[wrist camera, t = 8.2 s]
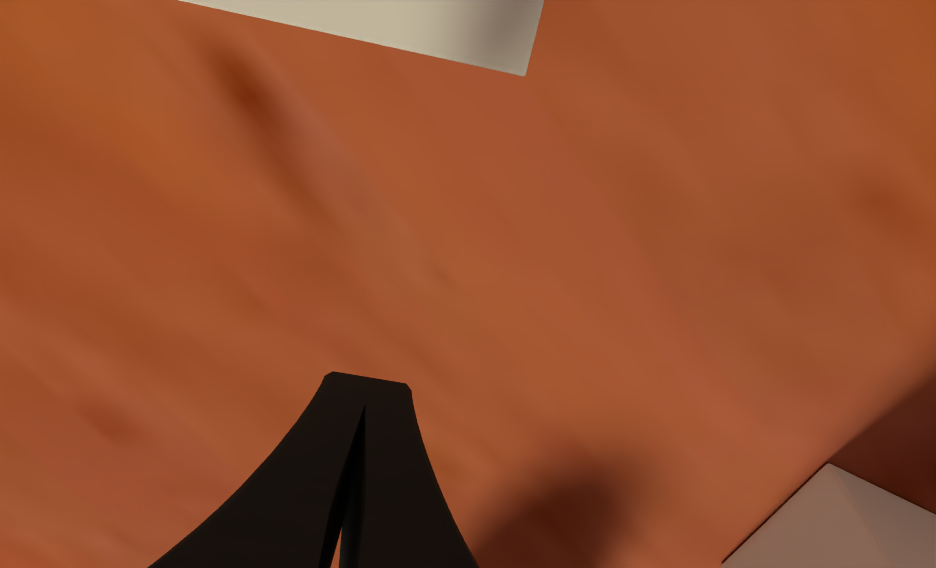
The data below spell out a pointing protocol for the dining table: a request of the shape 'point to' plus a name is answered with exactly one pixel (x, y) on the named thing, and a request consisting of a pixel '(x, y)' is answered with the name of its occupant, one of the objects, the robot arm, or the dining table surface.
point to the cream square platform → (415, 25)
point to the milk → (841, 529)
